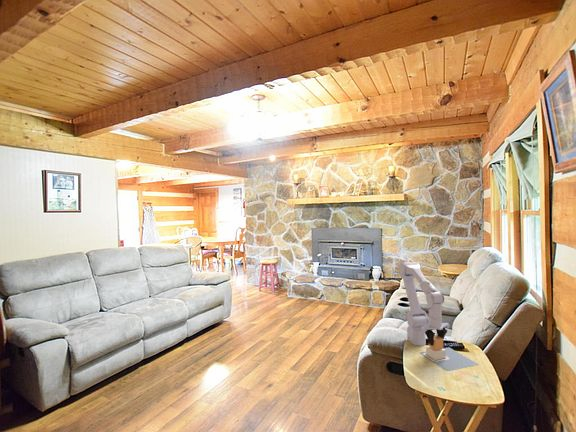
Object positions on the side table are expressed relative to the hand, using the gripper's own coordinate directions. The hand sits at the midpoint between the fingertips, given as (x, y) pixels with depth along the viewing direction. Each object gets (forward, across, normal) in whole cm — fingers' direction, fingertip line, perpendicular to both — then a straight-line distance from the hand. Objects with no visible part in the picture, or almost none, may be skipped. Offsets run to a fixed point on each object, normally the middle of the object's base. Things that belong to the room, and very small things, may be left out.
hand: (435, 343), depth 148 cm
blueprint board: (+7, +4, -4) cm, 9 cm away
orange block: (+2, 0, 0) cm, 2 cm away
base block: (+6, 0, 0) cm, 6 cm away
